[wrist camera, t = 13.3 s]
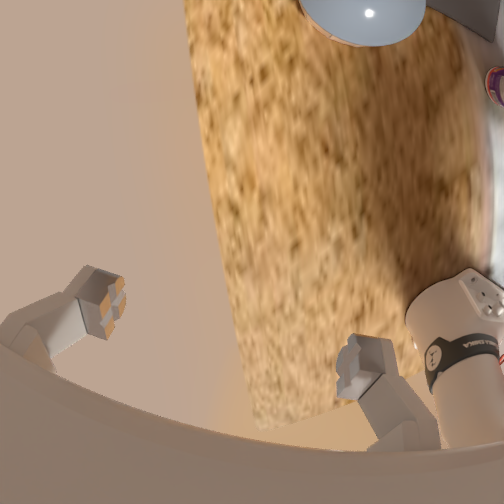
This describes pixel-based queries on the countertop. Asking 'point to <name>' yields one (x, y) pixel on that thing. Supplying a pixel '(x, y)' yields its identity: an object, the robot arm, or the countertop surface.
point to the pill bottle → (495, 85)
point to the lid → (367, 19)
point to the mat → (471, 14)
